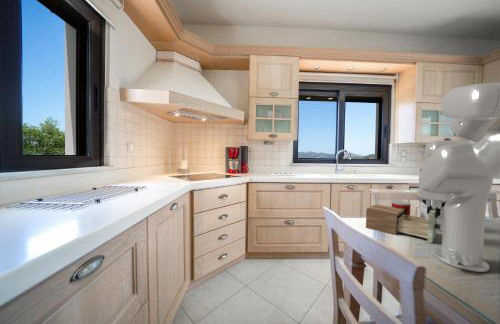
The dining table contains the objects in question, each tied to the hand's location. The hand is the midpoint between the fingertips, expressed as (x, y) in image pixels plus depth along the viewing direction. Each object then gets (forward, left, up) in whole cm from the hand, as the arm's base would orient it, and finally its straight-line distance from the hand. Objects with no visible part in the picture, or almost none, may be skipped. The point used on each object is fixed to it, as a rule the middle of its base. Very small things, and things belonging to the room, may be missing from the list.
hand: (433, 216), depth 90 cm
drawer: (0, +5, -9) cm, 10 cm away
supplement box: (+20, +1, -10) cm, 22 cm away
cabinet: (0, +17, -9) cm, 20 cm away
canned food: (+13, +14, -10) cm, 21 cm away
